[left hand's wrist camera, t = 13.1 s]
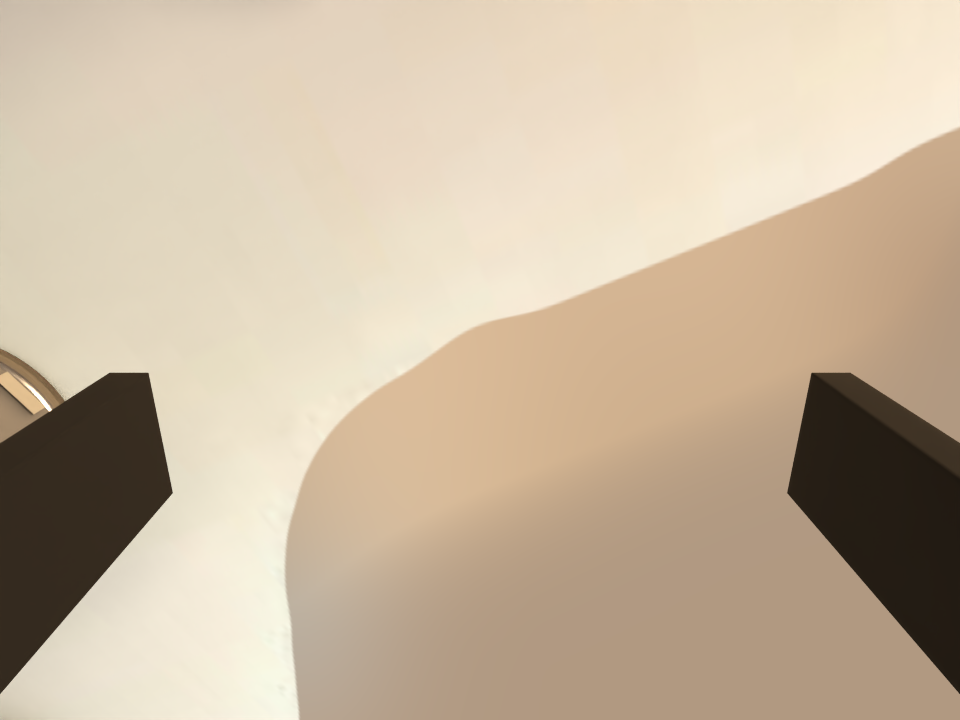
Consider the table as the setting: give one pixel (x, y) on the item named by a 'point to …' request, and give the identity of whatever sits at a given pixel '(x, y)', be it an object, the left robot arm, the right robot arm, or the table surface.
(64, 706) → the table surface
